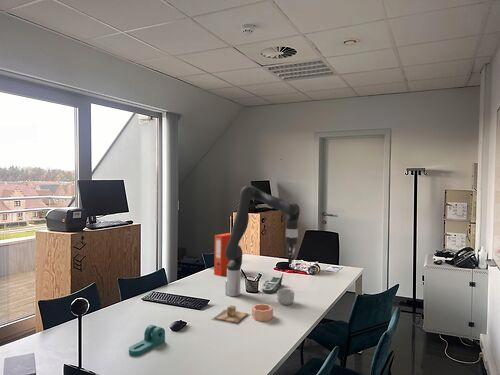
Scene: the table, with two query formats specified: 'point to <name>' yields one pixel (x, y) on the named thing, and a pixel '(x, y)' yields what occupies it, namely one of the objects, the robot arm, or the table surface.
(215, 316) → the mat
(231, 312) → the lid
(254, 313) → the bowl
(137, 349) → the bracket
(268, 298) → the table surface
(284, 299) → the teacup
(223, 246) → the file binder
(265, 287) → the communication device
